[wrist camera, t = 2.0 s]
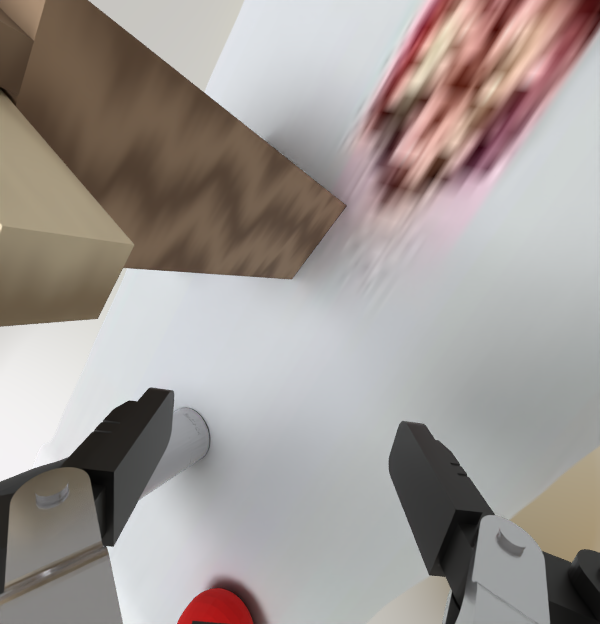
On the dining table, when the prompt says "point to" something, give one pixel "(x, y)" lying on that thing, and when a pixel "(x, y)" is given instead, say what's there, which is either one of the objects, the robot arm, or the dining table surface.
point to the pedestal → (157, 148)
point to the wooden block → (50, 233)
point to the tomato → (216, 608)
